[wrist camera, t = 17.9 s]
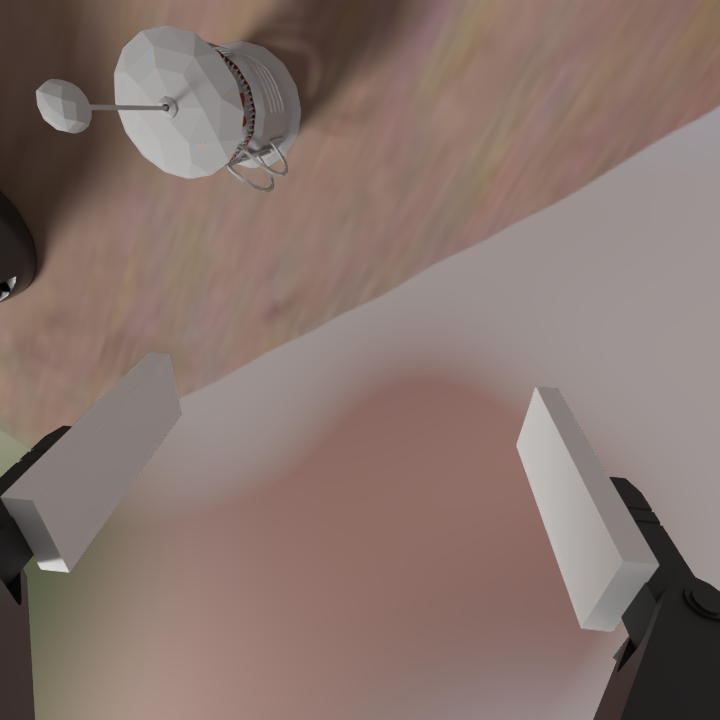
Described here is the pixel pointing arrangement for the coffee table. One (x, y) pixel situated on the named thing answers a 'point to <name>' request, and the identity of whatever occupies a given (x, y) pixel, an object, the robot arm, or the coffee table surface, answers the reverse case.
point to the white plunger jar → (192, 104)
